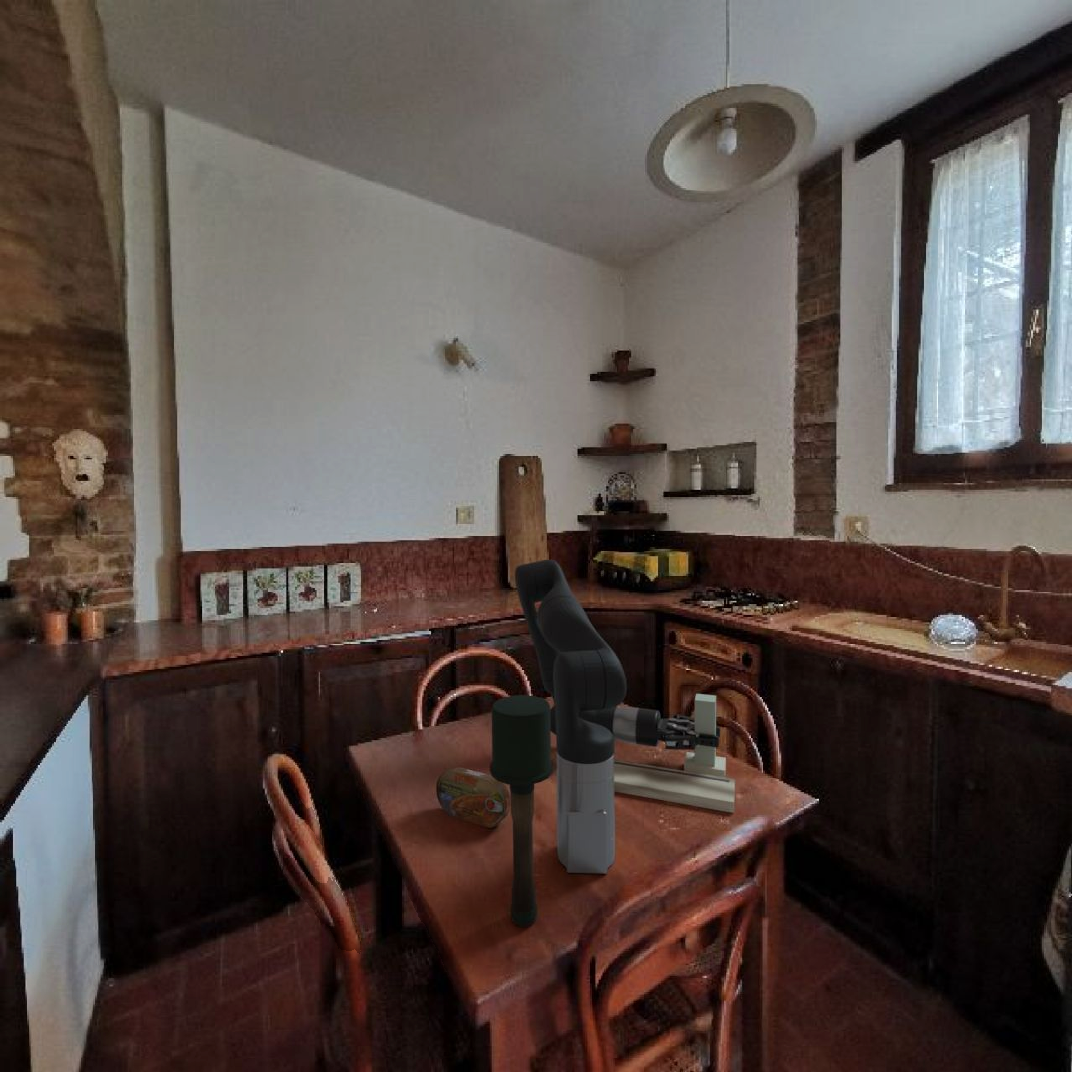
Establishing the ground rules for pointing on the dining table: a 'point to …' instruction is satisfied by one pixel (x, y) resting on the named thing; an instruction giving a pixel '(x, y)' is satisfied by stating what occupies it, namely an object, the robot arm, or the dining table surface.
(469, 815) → the tin
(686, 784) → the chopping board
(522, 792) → the stick grenade
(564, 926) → the dining table surface
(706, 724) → the grey pillar on base
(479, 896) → the dining table surface
